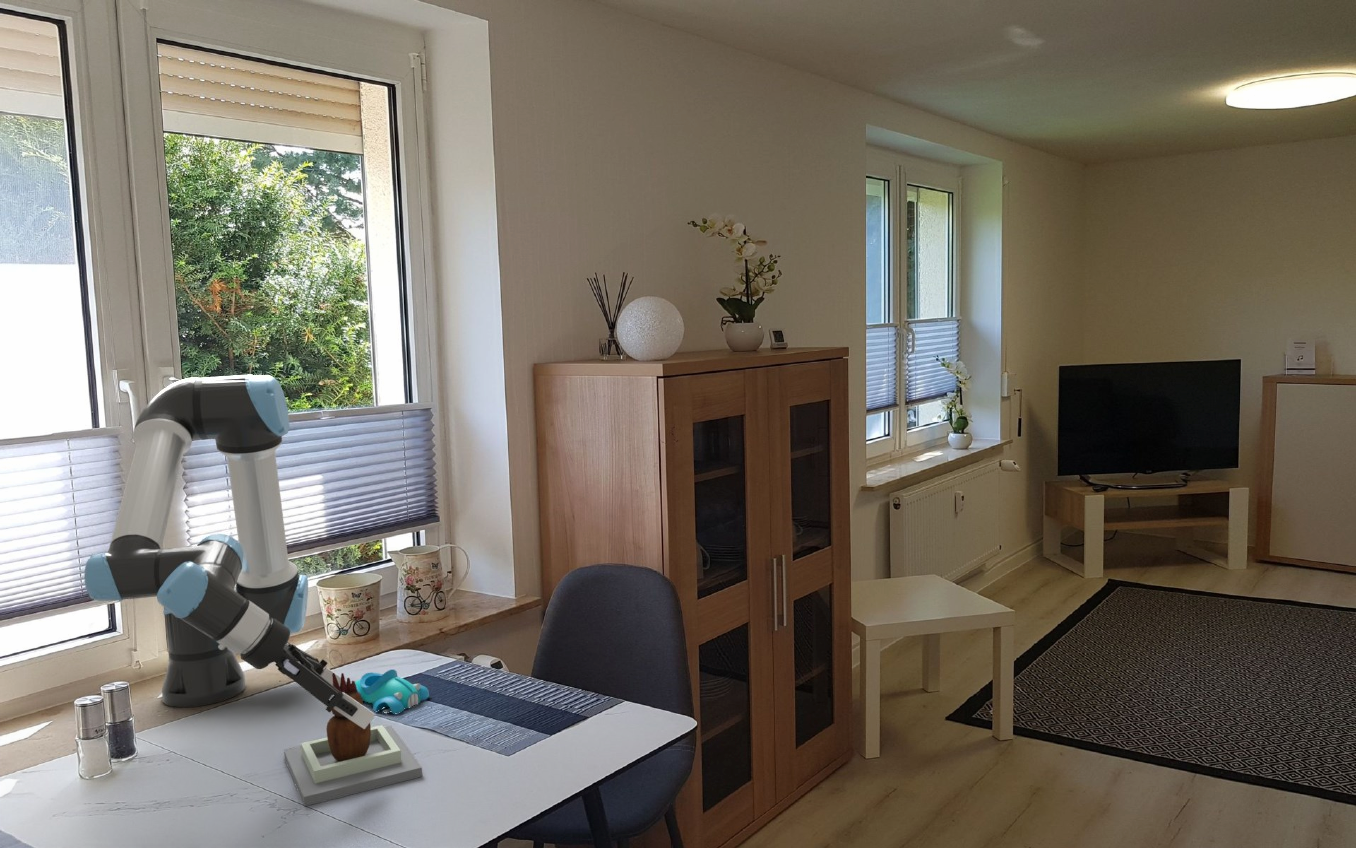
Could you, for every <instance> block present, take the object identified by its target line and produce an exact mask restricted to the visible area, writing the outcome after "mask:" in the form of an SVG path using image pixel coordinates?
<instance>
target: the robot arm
mask: <svg viewBox="0 0 1356 848" xmlns="http://www.w3.org/2000/svg"><path fill="white" fill-rule="evenodd" d="M289 431H290V418H289V409H288V405H287V401H286V397H285V394H284V391H283V389H282V386H281V384H280V383H279V381H278V380H277V378H275V377H273V376H271V375H269V374H268V375H267V374H265V375H264V374H263V375H262V374H259V375H257V374H256V375H255V374H254V375H253V374H240V375H227V376H225V375H223V376H210V377H209V376H207V377H198V376H197V377H188V378H184V379H181V380H178V381H176V382H173V383H172V384H169V385H168V386H167V387H165V388H163V389H162V390H161V391H159V392H158V393H157V394H156V395H155V396H154V397H153V398H151V400H150V401H148V403H147V404H146V405H145V407H144V408H143V409H142V411H141V413H140V414H139V416H138V418H137V419H136V422H135V425H134V428H133V431H132V440H133V443H134V445H135V449H134V453H133V457H132V460H131V465H130V468H129V472H128V475H127V476H128V477H127V479H126V484H125V487H124V492H123V494H122V498H121V502H120V505H119V509H118V513H117V517H116V521H115V525H114V529H113V533H112V536H111V540H110V544H109V547H108V550H107V552H106V551H104V552H101V553H94V554H92V555H91V556H90V557H89V558H88V559H87V561H86V563H85V567H84V572H83V574H84V578H83V579H84V585H85V589H86V590H85V591H87V594H88V596H89V597H90V598H91V600H93V601H97V602H101V601H102V602H109V601H110V602H113V601H118V602H119V601H120V602H122V601H125V600H133V599H134V600H135V599H145V598H154V597H156V599H157V602H158V603H159V605H161V606H162V607H163V608H164V609H163V613H162V614H163V616H164V623H165V633H166V643H167V652H168V654H167V655H168V665H167V667H166V672H165V677H164V679H163V685H162V688H161V695H162V696H161V697H162V703H164V704H165V705H167V706H170V707H175V708H191V707H192V708H193V707H199V706H207V705H212V704H216V703H219V702H220V703H221V702H223V701H226V700H229V699H231V698H234V697H235V696H238V695H239V694H241V693H242V692H243V691H244V690H245V689H246V684H247V683H246V677H245V676H246V675H245V673H244V671H243V668H242V667H241V664H240V663H239V660H238V657H237V656H236V655H239V656H240V659H241V660H242V661H244V662H246V663H247V664H249V665H250V666H251V667H253V668H255V669H256V670H264V669H265V668H267V667H268V666H269V665H270V664H272V663H275V664H274V665H275V666H276V667H277V670H278V671H279V672H280V673H281V674H283V675H285V676H287V677H288V678H289V679H290V680H292V681H294V682H295V683H296V684H297V685H298V686H299V687H301V688H303V689H304V690H305V691H306V692H307V693H309V694H311V695H312V696H313V697H314V698H315V699H317V700H318V701H320V702H321V703H322V704H323V705H324V706H326V708H325V711H327V712H328V713H332V709H335V710H336V711H338V712H339V713H341V714H342V715H344V716H345V717H347V718H348V719H350V720H351V721H353V722H354V723H356V724H357V725H359V726H360V727H362V728H363V729H365V728H366V727H367V726H368V724H369V723H370V724H371V722H372V720H373V719H374V718H375V716H377V715H376V713H375V712H374V711H371V709H369V708H368V707H366V706H364V705H362V704H360V703H359V702H357V701H356V700H354V699H353V698H351V697H350V696H348V695H347V694H345V693H344V692H341V691H339V690H337V689H336V688H335V687H334V686H333V677H332V673H335V672H334V671H332V670H331V669H330V668H328V667H327V665H328V662H327V661H326V660H325V659H324V658H323V659H321V660H319V658H317V657H314V656H312V655H310V654H309V653H308V652H306V651H304V650H302V649H300V648H298V647H297V645H294V644H293V643H292V644H291V643H290V642H288V641H289V639H290V637H291V635H293V634H298V633H299V632H301V630H302V629H303V628H304V625H305V621H306V614H307V609H308V608H307V607H308V597H309V581H308V576H307V575H304V574H299V571H298V566H297V564H295V563H294V562H292V560H291V561H290V560H289V555H288V546H287V538H286V531H285V522H284V516H283V515H284V514H283V506H282V497H281V496H282V495H281V489H280V480H279V474H278V465H277V458H276V457H277V455H276V450H277V449H278V448H279V447H280V446H281V445H282V444H283V437H284V436H285V435H287V434H288V433H289ZM199 440H203V441H204V440H215V444H216V446H215V447H216V450H217V451H218V452H219V453H220V454H222V455H224V456H225V457H226V460H227V468H228V475H229V480H230V483H229V484H230V488H231V489H230V490H231V495H232V503H233V511H234V518H235V525H236V532H237V539H238V540H237V539H235V538H234V537H232V536H231V535H228V534H224V533H214V534H210V535H208V536H206V537H203V538H202V540H200V542H198V543H197V545H194V546H193V545H192V546H191V545H190V546H181V547H169V548H163V543H164V539H165V535H166V530H167V526H168V521H169V517H170V513H171V508H172V503H173V500H174V496H175V491H176V486H177V481H178V478H179V473H180V468H181V463H182V460H183V455H185V454H186V453H188V451H189V450H190V448H191V446H192V443H193V442H194V441H199ZM335 676H336V678H337V681H338V683H339V686H340V682H341V675H339V674H337V673H335ZM345 682H346V683H347V679H345Z"/></svg>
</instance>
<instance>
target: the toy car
mask: <svg viewBox="0 0 1356 848" xmlns="http://www.w3.org/2000/svg"><path fill="white" fill-rule="evenodd" d="M355 684H356V688H357V691H358V692H359V693H360V694H361V696H362V700H363V701H365V702H364V703H367V702H368V703H367V704H370V703H372V704H371V705H373V706H372V710H374V711H375V712H376V711H378V710H381V709H382V708H383V707H387V708H385V709H383V710H381V711H382V713H383V712H387V713H388V712H390V711H392V712H391V714H395V713H399V712H402V711H403V712H404V711H405V710H404V708H409V707H411V706H413V705H415V704H417V703H420V704H421V702H422V701H421V700H424V701H426V700H428V698H429V696H430V693H429V689H428V688H427V687H426V686H425V685H422V684H421V683H411V682H410V681H408V680H406V679H404V678H401V677H399V676H398V672H397V670H396V669H390V670H387V671H386V672H384V673H383V674H382V673H378V672H377V673H376V672H367V673H365V674H363V675H362V676H361V677H360V678H359V679H358V680H356V681H355ZM420 701H421V702H420ZM417 705H418V704H417ZM415 706H416V705H415ZM388 707H390V708H388ZM413 707H414V706H413ZM411 708H412V707H411ZM374 711H373V712H374ZM375 712H374V713H375ZM403 712H402V713H403Z"/></svg>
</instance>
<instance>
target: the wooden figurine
mask: <svg viewBox="0 0 1356 848" xmlns="http://www.w3.org/2000/svg"><path fill="white" fill-rule="evenodd" d="M332 677H333V686H334V687H335V688H336V689H337V690H339V691H341V692H344V693H345V694H347V695H348V696H350V697H351V698H353V699H354V700H356V701H357V702H359V703H360V704H362V705H363V704H364V702H363V700H362V696H361V694H360V693H359V692H358V691H357V688H356V684H355V682H356V681H355V680H352V681H351V679H350V677H347V678H346V677H345V674H344V673H343V672H341V675H340V677H341V682H340V686H339V683H338V681H337V678H336V676H335V672H334V673H332ZM345 680H346V681H347V683H346V682H345ZM363 706H364V705H363ZM331 713H332V717H331V718H330V719H329V720H328V722H327V724H326V736H327V738H328V743H329V747H330V750H331V753H332V755H333V757H334V758H335V759H336V760H337V761H339V762H341V761H346V760H350V759H354V758H358V757H362V756H365V754H366V753H367V751H368V748H369V744H370V736H371V722H370V723H369V724H368V726H367V727H366V728H365V729H363V728H362V727H360V726H359V725H357V724H356V723H354V722H353V721H351V720H350V719H348V718H347V717H345V716H344V715H342V714H341V713H339V712H338V711H336V710H335V709H332V710H331Z"/></svg>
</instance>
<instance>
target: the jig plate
mask: <svg viewBox="0 0 1356 848" xmlns="http://www.w3.org/2000/svg"><path fill="white" fill-rule="evenodd" d="M370 727H371V726H370ZM283 758H285V759H284V761H285V762H286V763H285V764H286V766H287V765H288V766H287V767H288V771H289V770H290V771H289V772H291V773H290V775H291V777H293V778H292V780H293V782H294V784H296V785H295V787H296V789H298V790H297V792H298V794H299V797H300V799H301V800H302V801H301V802H302V803H303V806H304V807H307V806H312V805H316V804H320V803H323V802H327V801H332V800H335V799H339V798H343V797H346V796H347V797H348V796H351V795H354V794H358V793H362V792H366V791H371V790H375V789H378V788H383V787H386V786H391V785H394V784H398V783H401V782H405V781H410V780H414V779H417V778H421V777H423V766H421V763H419V761H418V760H417V759H416V757H415V756H414V754H413V753H412V752H411V751H410V749H409V748H408V746H407V745H406V744H405V742H404V741H403V740H402V738H401V737H400V735H399V734H398V733H397V731H396V730H395V729H394V727H393V726H392V725H387V726H384V725H383V724H381V725H380V724H379V725H375V726H372V727H371V736H370V744H369V748H368V751H367V753H366V754H365V756H362V757H358V758H354V759H350V760H346V761H341V762H339V761H337V760H336V759H335V758H334V757H333V755H332V753H331V750H330V747H329V743H328V738H327V737H323V738H319V739H313V740H310V741H309V740H308V741H304V742H301V743H300V746H296V747H291V748H288V749H283Z"/></svg>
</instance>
